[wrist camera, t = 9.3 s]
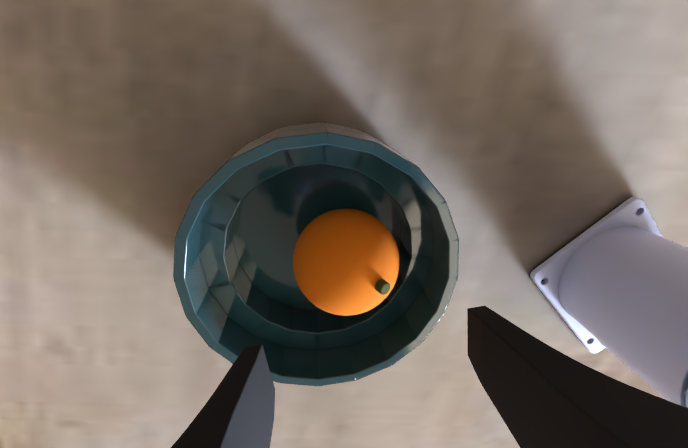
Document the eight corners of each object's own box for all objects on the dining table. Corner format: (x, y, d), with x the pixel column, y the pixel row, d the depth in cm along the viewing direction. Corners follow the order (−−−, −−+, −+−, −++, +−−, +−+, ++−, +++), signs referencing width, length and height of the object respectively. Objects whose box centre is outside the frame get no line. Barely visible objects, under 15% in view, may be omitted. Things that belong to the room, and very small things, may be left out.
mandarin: (371, 230, 22) (443, 268, 17) (317, 299, 21) (378, 357, 17) (320, 176, 18) (394, 207, 14) (254, 256, 18) (310, 315, 13)
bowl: (466, 237, 22) (509, 277, 17) (315, 357, 24) (316, 422, 19) (323, 66, 17) (329, 58, 13) (156, 233, 20) (109, 278, 15)
